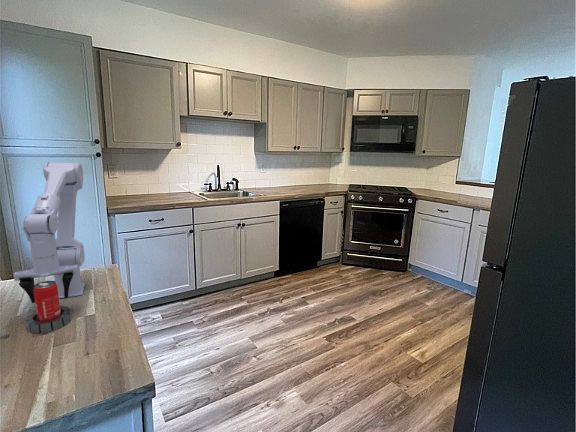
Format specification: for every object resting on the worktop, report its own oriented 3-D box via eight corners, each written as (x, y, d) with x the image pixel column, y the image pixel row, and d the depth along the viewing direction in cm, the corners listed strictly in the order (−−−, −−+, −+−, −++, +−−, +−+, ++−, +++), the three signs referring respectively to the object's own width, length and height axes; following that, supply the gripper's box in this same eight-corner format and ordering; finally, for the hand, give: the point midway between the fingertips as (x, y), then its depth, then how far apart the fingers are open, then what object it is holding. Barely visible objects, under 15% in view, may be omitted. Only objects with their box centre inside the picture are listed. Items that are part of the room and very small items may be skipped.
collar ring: (31, 317, 91) (30, 309, 91) (73, 310, 96) (72, 303, 96) (22, 336, 83) (21, 328, 82) (68, 327, 87) (67, 319, 87)
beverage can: (49, 329, 86) (44, 289, 84) (33, 327, 87) (27, 286, 84) (66, 319, 91) (61, 281, 88) (51, 317, 92) (46, 279, 89)
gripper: (7, 263, 83) (15, 310, 86) (73, 256, 89) (78, 300, 92) (15, 254, 89) (22, 298, 92) (76, 248, 95) (81, 290, 98)
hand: (50, 298), depth 92 cm, fingers open, 7 cm apart
